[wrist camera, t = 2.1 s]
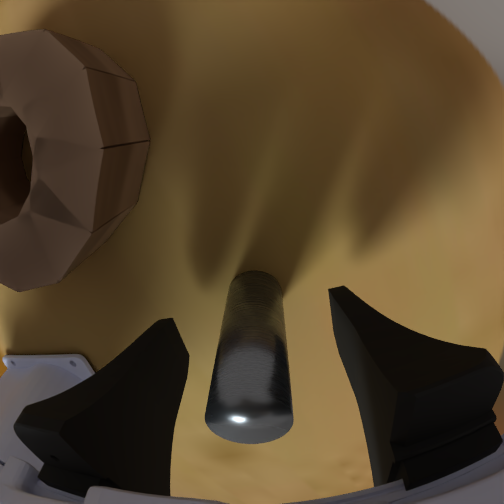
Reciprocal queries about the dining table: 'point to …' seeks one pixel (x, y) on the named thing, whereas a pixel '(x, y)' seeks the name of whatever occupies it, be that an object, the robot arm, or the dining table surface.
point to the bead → (64, 154)
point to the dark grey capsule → (251, 365)
